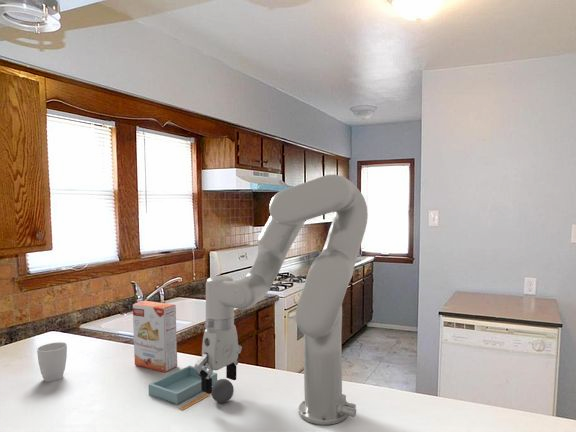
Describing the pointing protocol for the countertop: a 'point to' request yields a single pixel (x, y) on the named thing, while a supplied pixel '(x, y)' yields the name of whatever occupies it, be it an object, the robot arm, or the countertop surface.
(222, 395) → the ball
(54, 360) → the cup
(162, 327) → the cracker box
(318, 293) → the robot arm
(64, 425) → the countertop surface
